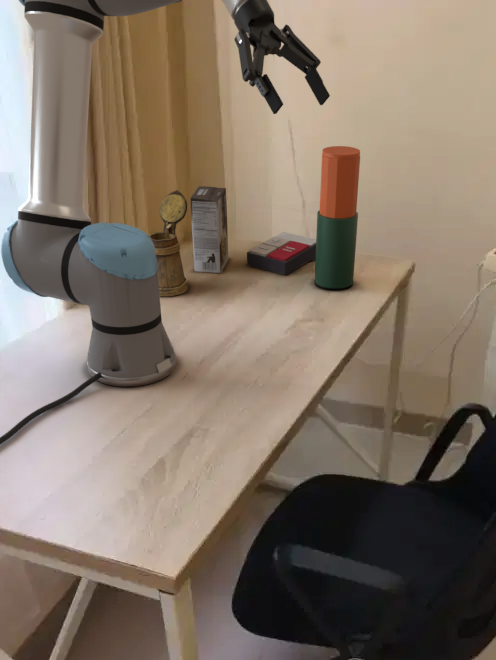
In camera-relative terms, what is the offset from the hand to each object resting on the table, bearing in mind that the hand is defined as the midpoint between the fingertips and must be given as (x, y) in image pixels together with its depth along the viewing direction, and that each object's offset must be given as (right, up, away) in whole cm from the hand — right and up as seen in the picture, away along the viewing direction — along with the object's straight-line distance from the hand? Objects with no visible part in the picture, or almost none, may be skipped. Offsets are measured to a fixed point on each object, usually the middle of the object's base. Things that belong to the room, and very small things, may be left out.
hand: (302, 105), depth 148 cm
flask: (+7, -31, +15) cm, 35 cm away
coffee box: (-20, -25, +23) cm, 39 cm away
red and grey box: (-4, -23, +25) cm, 35 cm away
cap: (+7, -19, +6) cm, 21 cm away
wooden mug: (-28, -32, +13) cm, 45 cm away
